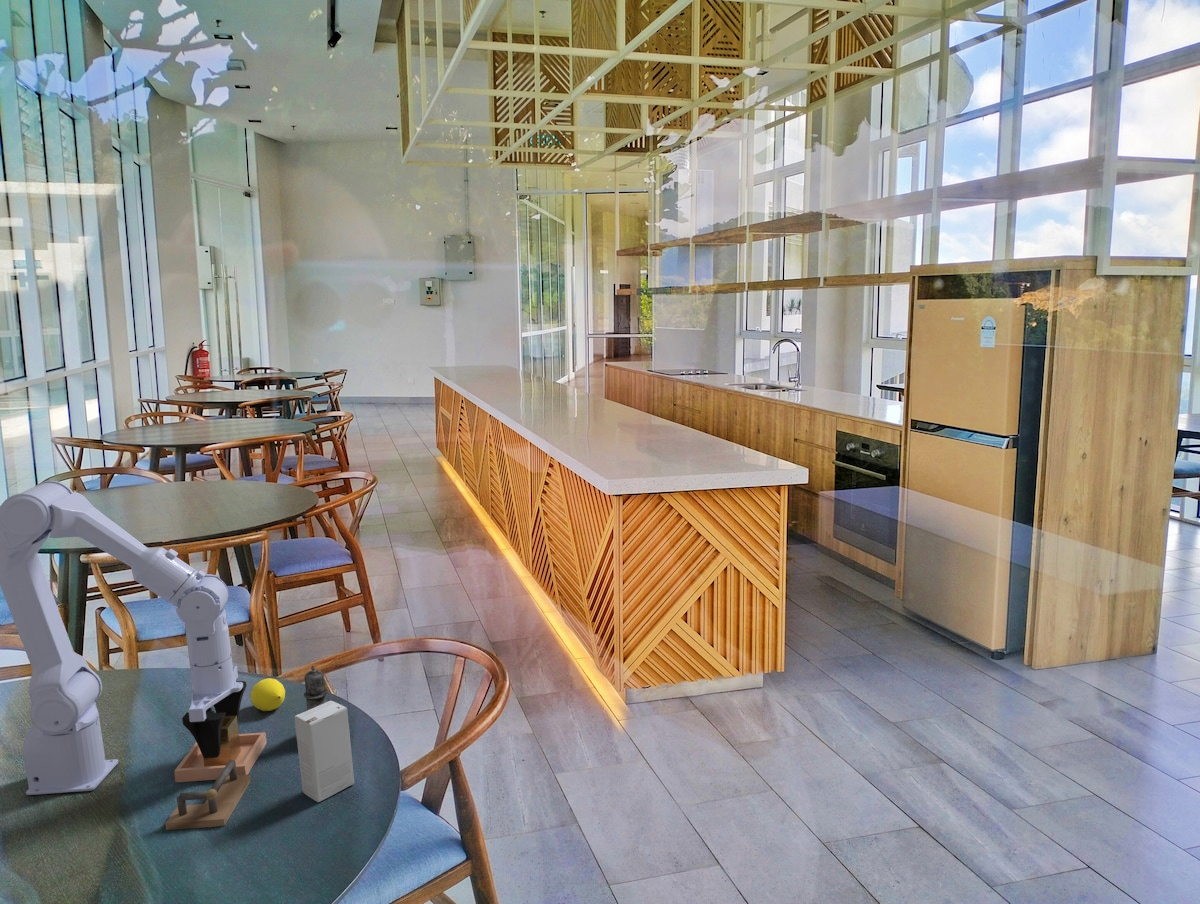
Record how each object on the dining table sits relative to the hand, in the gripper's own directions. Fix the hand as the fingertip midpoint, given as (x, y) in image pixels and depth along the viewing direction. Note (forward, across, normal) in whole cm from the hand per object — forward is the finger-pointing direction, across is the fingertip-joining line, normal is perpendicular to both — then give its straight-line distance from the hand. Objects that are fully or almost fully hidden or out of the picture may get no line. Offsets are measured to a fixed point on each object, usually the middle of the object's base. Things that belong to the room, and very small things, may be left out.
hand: (220, 743), depth 131 cm
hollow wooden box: (+3, 0, 0) cm, 3 cm away
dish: (+3, 0, 0) cm, 3 cm away
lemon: (+3, +17, -2) cm, 17 cm away
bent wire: (+3, -11, -2) cm, 12 cm away
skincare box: (+3, -10, -18) cm, 21 cm away
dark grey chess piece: (+3, +6, -13) cm, 15 cm away
